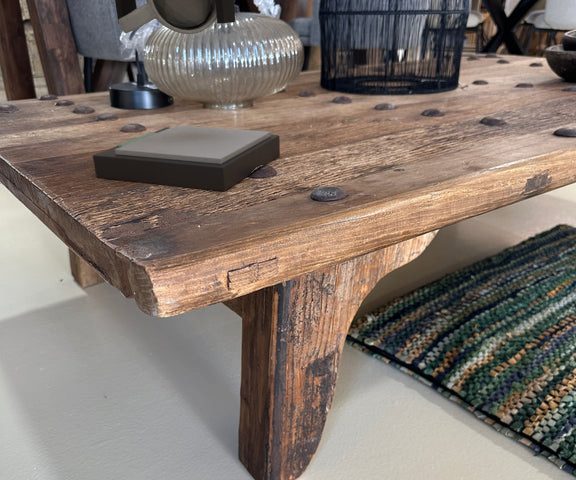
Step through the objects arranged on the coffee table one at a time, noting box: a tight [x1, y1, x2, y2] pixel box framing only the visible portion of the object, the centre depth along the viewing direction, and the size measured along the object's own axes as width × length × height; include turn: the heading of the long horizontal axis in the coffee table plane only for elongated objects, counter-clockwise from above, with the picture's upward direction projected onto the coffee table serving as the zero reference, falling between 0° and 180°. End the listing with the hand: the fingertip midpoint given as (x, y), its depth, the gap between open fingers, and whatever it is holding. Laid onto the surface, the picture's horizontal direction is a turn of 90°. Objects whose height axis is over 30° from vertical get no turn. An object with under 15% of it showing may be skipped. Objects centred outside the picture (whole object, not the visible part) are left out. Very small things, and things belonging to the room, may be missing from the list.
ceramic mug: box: [117, 0, 217, 35], centre depth 60 cm, size 11×8×8 cm
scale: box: [92, 124, 281, 192], centre depth 66 cm, size 16×15×3 cm
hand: (175, 23), depth 61 cm, fingers closed on ceramic mug, 11 cm apart
